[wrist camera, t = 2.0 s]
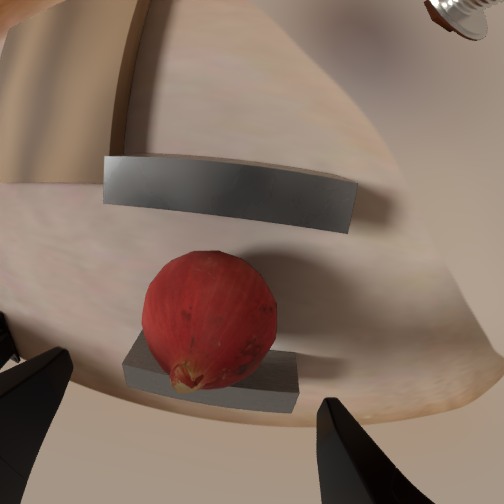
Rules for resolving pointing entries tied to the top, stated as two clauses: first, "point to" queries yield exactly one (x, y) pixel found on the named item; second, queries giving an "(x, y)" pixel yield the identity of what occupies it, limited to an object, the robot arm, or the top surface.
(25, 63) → the tan board
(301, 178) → the twin grey rails
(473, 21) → the screw
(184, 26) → the top surface
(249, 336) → the onion
